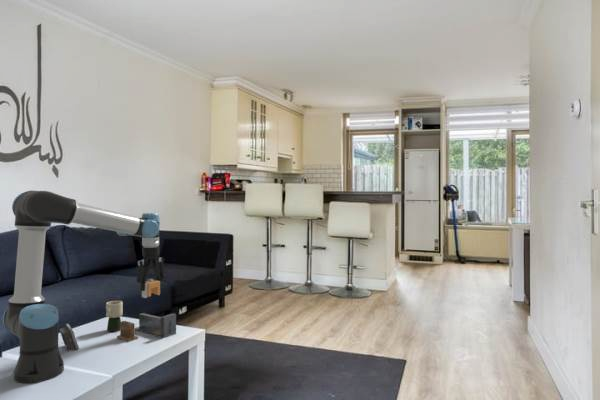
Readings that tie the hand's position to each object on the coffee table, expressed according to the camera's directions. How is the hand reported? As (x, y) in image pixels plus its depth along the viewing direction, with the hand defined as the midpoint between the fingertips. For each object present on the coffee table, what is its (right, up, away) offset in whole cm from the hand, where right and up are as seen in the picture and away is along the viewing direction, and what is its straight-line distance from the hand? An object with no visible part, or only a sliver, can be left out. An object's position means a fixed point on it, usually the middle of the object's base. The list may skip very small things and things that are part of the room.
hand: (150, 295), depth 198 cm
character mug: (-17, -16, +1) cm, 24 cm away
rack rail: (+2, -16, -1) cm, 17 cm away
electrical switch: (-26, -17, -22) cm, 38 cm away
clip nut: (0, +1, 0) cm, 1 cm away
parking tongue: (-7, -16, -10) cm, 21 cm away
